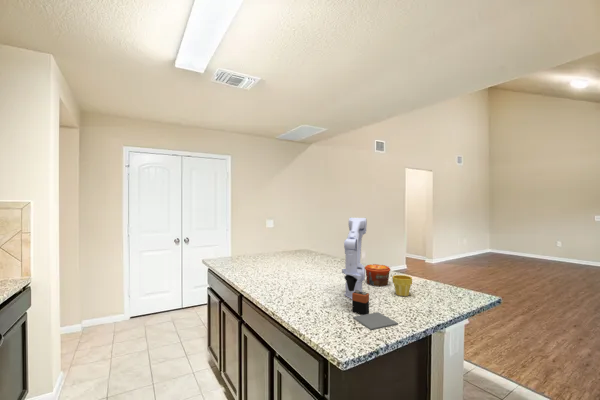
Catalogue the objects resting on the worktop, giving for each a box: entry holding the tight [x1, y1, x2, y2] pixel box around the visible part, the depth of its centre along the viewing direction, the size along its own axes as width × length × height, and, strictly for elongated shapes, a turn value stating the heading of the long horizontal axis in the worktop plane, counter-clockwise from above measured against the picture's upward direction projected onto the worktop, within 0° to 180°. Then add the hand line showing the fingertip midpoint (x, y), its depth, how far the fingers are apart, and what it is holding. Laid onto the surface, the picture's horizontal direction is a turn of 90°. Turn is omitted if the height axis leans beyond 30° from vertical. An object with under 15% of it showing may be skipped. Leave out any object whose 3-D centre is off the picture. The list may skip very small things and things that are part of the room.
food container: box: [364, 263, 392, 287], centre depth 181 cm, size 16×16×11 cm
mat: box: [352, 311, 399, 331], centre depth 124 cm, size 13×14×1 cm
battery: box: [351, 290, 370, 315], centre depth 133 cm, size 4×7×10 cm, turn 53°
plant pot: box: [392, 274, 413, 297], centre depth 160 cm, size 10×10×10 cm
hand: (351, 290), depth 141 cm, fingers closed
